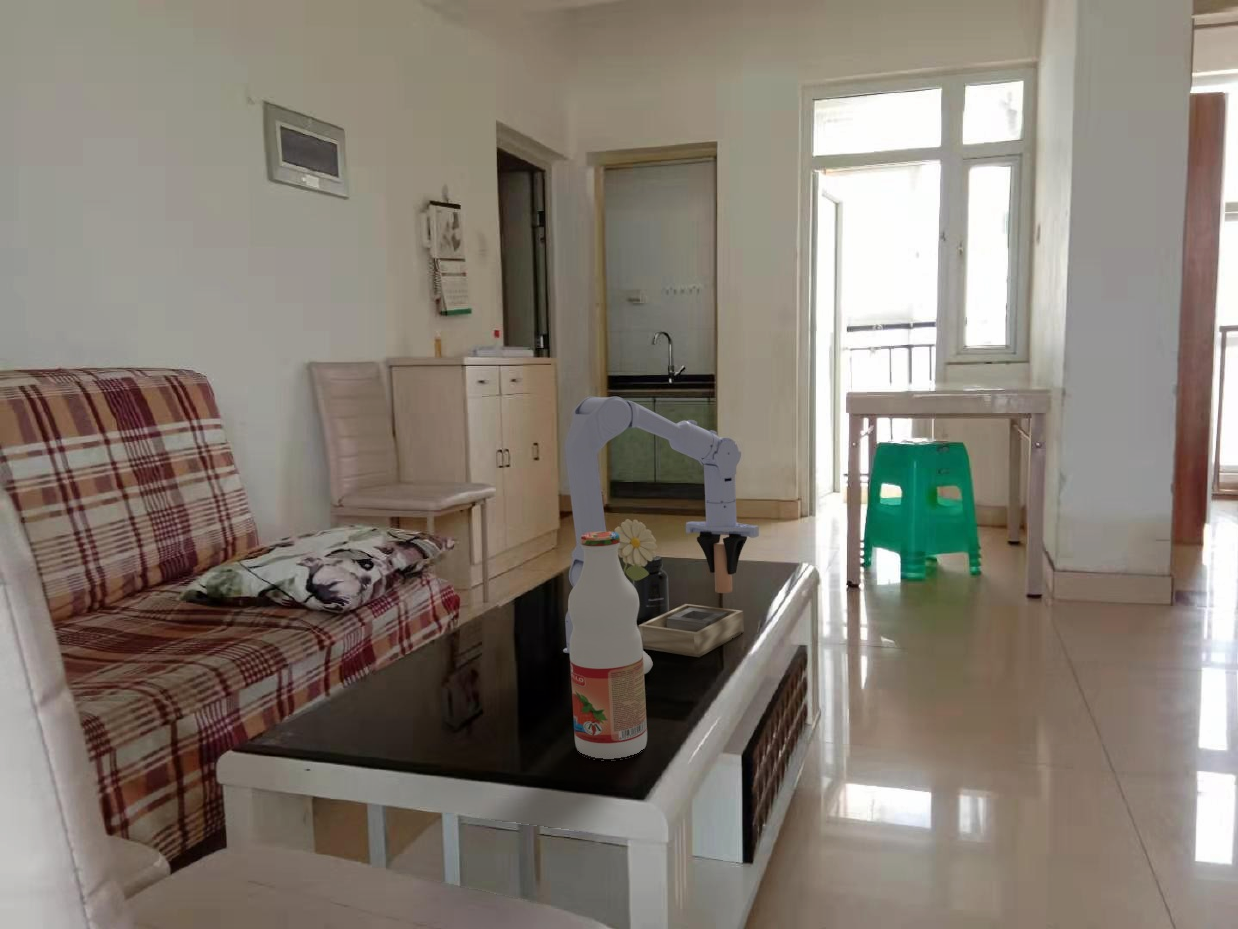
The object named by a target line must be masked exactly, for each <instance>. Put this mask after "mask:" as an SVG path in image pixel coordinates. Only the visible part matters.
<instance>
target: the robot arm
mask: <svg viewBox="0 0 1238 929" xmlns="http://www.w3.org/2000/svg"><path fill="white" fill-rule="evenodd" d="M571 412H572V421H571V425H570V428H569V430H568V432H567V436H566V439H565V442H564V453H565V454H564V455H565V463H566V470H567V477H568V486H569V493H570V494H569V495H570V503H571V509H572V517H573V518H572V519H573V527H574V534H575V542H576V543H575V544H576V546H575V547H574V549H573V550H572V551H571V554H570V555H571V564H570V567H569V571H568V579H569V583H570V584H571V586H572V588H573V587H574V586H575V585H576V583H577V582H578V580H579V578H580V575H581V573H582V568H583V563H584V550H583V549H582V545H581V536H582V535H583V534H586V533H591V532H601V531H607V528H606V520H605V510H604V503H603V494H602V488H601V487H602V486H601V478H600V469H599V462H598V461H599V460H598V453H600V451H601V450H602V448H604V446H605V445H607V443H608V442H609V441H611V440H612V439H614V438H616V437H617V436H619V435H621V434H622V433H623V432H624V431H625V430H627V429H628V428H629V429H634V428H637V429H640V430H642V431H644V432H647V433H650V434H653V435H655V436H658V437H660V438H663V439H665V440H667V441H668V443H669V446H670V447H671V449H672V450H674V451H675V452H679V453H681V454H683V455H685V456H687V457H689V458H692V459H694V460H696V461H698V463H700V465H701V467H703V476H704V477H703V478H704V495H705V496H704V501H705V502H704V504H705V505H704V507H705V521H693V520H692V521H687V522H686V523H685V533H686V534H692V533H695V534H699V536H696V542H697V543H698V545H699V547H701V550H702V553H703V554H704V556H705V559H706V563H707V566H708V569H709V573H712V574H713V573H714V574H715V567H714V544H715V543H720V542H721V535H724V536H726V537H724V538H722V542H724V546H725V550H726V556H727V572H728V574H730V575H732V576H733V574H736V573H737V569H738V564H739V559H740V555H741V553H742V550H743V548H744V546H745V544H746V542H747V540H748V538H750V539H751V538H752V539H753V538H757V537H759V535H760V530H759V529H760V528H759V527H760V526H759V525H756V524H755V525H752V524H747V523H740V522H737V518H738V517H737V494H736V493H737V492H736V475H737V466H738V465H739V463H740V461H741V458H742V451H740V450H739V447H738V445H737V444H736V442H735V441H734V440H733V439H732V438H730V437H729V438H728V437H721V436H720V437H719V436H718V431H715V430H708V429H705V428H703V427H700V426H699V425H698V421H696V420H693V419H688V420H680V421H679V422H677V423H676V422H673V421H671V420H670V419H668V418H666V417H663V416H662V415H660V414H658V413H656V412H655V411H652V410H650V409H648V408H647V407H645V406H642V405H641V404H639V403H636V402H634V401H631V400H625V399H624V398H622V397H619V396H610V397H609V396H608V397H603V396H602V397H598V396H588V397H585V398H583V400H581V401H580V402H579V403H578V405H576V407H575V408H574V409H573V410H572V411H571ZM564 619H565V620H564V621H565V622H564V623H565V639H566V647H565V648H564V649H563V650H562V651H563V653H565V654H570V637H571V634H572V631H573V623H572V620H571V617H570V614H569V610H567V612H566V613H565V617H564Z"/></svg>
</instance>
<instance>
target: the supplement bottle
mask: <svg viewBox="0 0 1238 929" xmlns="http://www.w3.org/2000/svg"><path fill="white" fill-rule="evenodd" d="M663 566H664V565H663V558H662V556H659V555H656V557H653V560H652V561H648V560H647V565H646V566H641V567H643V568H644V569H645V570H646V571H647V572H648V573H649V575H648V576H646V577H645V578H643V579H640V580H637V581H636V580H633V579H632V585H633V586H634V587H635V589H636V591H637V593H638V596H639V612H638V616H637V621H638V622H642V623H645V622H647V621H649V620H652V619H654V618H656V617H658V616H660V615H663V614H665V613H667V612H669V611H670V604H669V601H670V600H669V598H670V597H669V576H668V573H667V572H666V571H665V570H664V569H662V568H663Z"/></svg>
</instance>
